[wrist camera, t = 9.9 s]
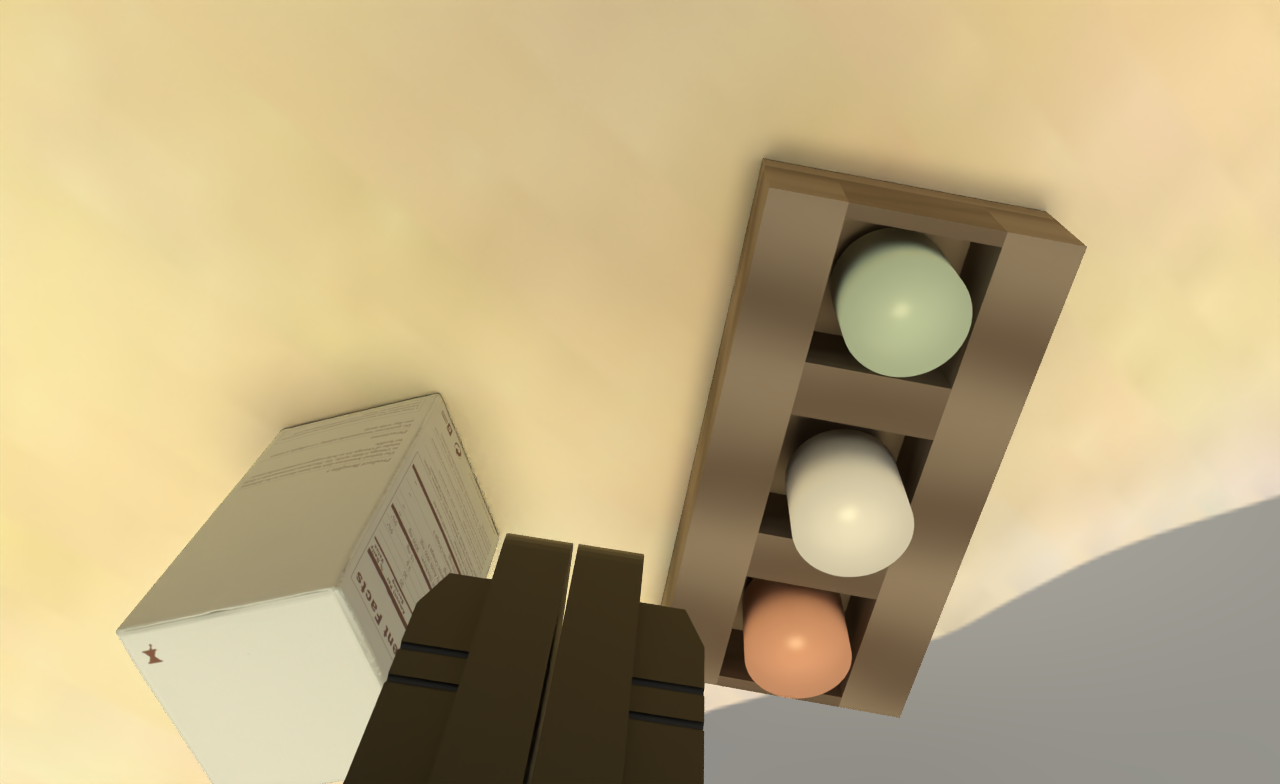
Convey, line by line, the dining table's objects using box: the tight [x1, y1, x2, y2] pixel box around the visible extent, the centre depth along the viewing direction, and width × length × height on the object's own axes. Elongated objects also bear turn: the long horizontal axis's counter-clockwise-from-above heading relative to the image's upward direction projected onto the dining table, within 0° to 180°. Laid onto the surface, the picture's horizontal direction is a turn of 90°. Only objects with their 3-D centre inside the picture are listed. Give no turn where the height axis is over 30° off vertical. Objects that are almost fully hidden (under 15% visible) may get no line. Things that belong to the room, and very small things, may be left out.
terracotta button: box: [742, 578, 852, 699], centre depth 37 cm, size 4×4×3 cm
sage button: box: [830, 228, 972, 377], centre depth 31 cm, size 4×4×3 cm
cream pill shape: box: [785, 429, 914, 577], centre depth 33 cm, size 4×4×3 cm
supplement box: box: [116, 394, 499, 784], centre depth 34 cm, size 7×7×13 cm
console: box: [661, 159, 1087, 718], centre depth 36 cm, size 20×10×4 cm, turn 170°
